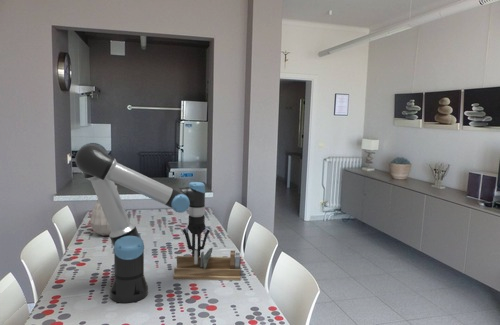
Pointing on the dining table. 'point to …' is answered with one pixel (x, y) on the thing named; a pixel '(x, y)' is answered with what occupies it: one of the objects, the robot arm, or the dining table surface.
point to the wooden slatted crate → (209, 268)
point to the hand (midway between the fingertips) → (196, 263)
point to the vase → (99, 220)
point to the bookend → (202, 260)
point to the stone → (207, 257)
